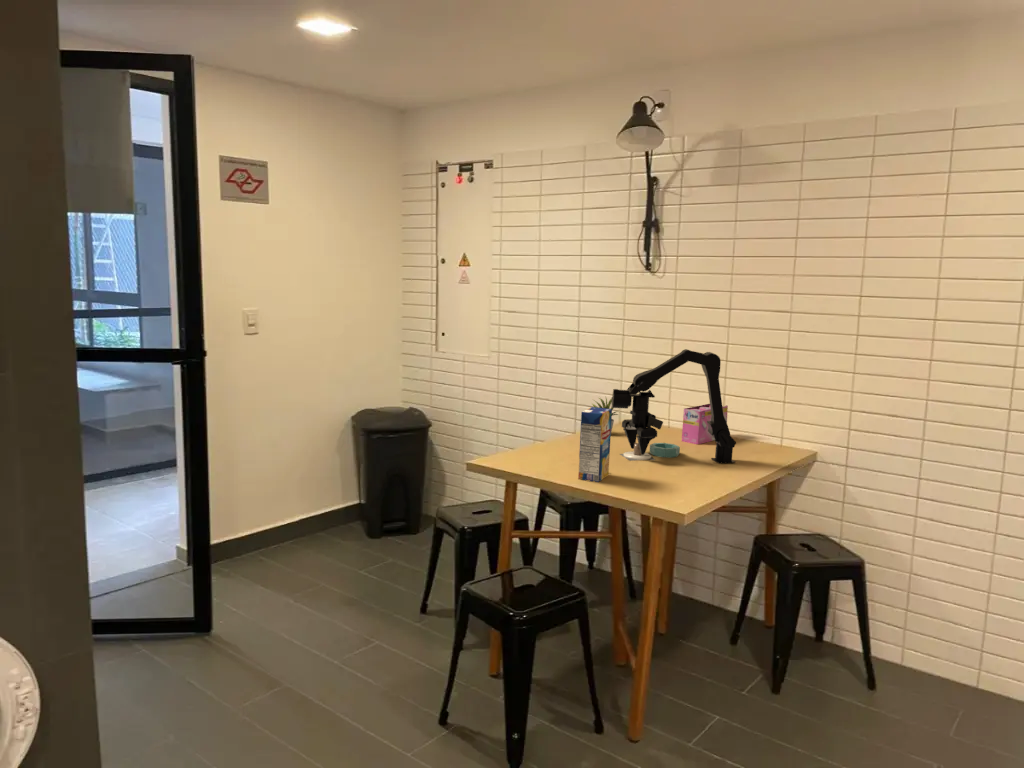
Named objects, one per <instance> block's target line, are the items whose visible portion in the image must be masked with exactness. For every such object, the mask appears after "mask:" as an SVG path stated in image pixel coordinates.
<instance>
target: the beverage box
mask: <svg viewBox="0 0 1024 768" xmlns="http://www.w3.org/2000/svg"><path fill="white" fill-rule="evenodd" d="M597 407H598V406H597ZM597 407H594V406H592V407H588V408H587V409H585V410H583V411H581V414H580V415H581V416H580V437H579V453H578V478H577V480H579V479H583V480H582V481H586V480H590V481H589V482H593V481H595V483H600V482H601V481H602V480H604V479H605V478H606V477H608V476H609V473H610V457H611V456H610V455H611V453H610V452H611V451H610V450H611V435H612V432H611V419H613V418H612V417H613V416H612V413H613V410H612V409H611V408H609V409H606V408H600V407H598V408H597ZM604 477H605V478H604ZM603 478H604V479H603ZM599 481H600V482H599Z"/></svg>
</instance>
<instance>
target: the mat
mask: <svg viewBox="0 0 1024 768" xmlns="http://www.w3.org/2000/svg"><path fill="white" fill-rule="evenodd" d="M623 454H624V453H619V455H620V456H621V457H623V458H625V457H624V456H623ZM626 459H627V460H628V461H630V462H631V461H632V462H633V461H637V460H633V459H628V458H625V460H626ZM648 461H656V459H655V458H653V456H651V459H649V460H648Z"/></svg>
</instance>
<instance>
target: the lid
mask: <svg viewBox="0 0 1024 768" xmlns="http://www.w3.org/2000/svg"><path fill="white" fill-rule="evenodd" d="M622 454H623V456H624V457H623V456H622V457H623V458H625V459H626V458H628V459H633V460H636V461H650V460H649V459H651V457H652V454H651V453H648V452H645V454H644V455H642V454H641V451H640V447H639V443H638V442H636V443H634V449H633V451H626V452H623V453H622ZM628 459H627V460H628Z"/></svg>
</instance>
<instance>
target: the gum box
mask: <svg viewBox="0 0 1024 768" xmlns="http://www.w3.org/2000/svg"><path fill="white" fill-rule="evenodd" d="M722 407H723V415H724V418H725V420H726V422H727V423H728V410H729V409H728V405H722ZM682 418H683V420H682V430H681V442H684V443H689V444H694V445H701V444H705V443H709V442H713V441H715V439H714V438H713V437H712V436H711V434H710V433H709V432H708V424H707V421H711V408H710V403H707V404H701V405H696V406H691V407H686V408H683V416H682Z"/></svg>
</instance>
